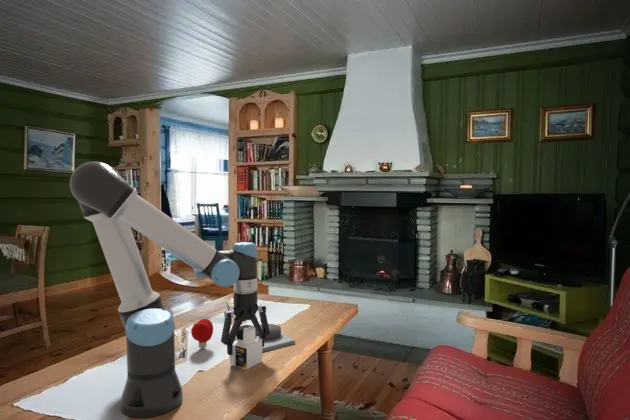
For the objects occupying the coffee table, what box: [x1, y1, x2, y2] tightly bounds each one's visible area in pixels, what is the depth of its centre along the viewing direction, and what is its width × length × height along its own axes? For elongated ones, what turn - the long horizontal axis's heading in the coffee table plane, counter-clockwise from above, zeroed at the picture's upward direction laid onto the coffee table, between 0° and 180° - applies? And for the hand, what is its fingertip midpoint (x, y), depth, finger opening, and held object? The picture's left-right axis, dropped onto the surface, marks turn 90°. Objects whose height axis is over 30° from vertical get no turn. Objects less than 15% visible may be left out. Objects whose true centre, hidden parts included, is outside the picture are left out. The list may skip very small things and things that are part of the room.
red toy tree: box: [190, 318, 214, 350], centre depth 146 cm, size 9×7×10 cm
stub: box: [255, 323, 282, 341], centre depth 156 cm, size 11×11×2 cm
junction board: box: [234, 332, 296, 353], centre depth 152 cm, size 20×17×2 cm
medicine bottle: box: [230, 324, 263, 370], centre depth 134 cm, size 7×7×12 cm
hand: (246, 360), depth 134 cm, fingers open, 9 cm apart
